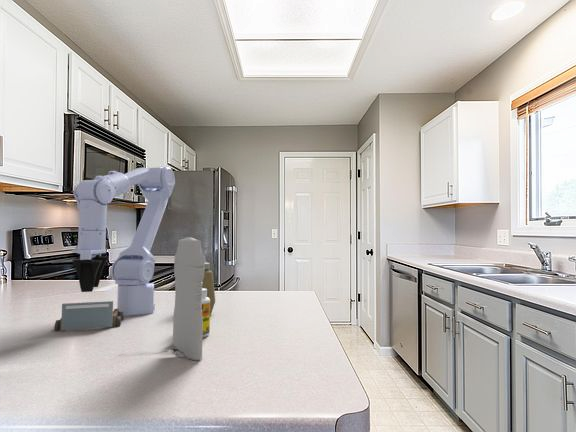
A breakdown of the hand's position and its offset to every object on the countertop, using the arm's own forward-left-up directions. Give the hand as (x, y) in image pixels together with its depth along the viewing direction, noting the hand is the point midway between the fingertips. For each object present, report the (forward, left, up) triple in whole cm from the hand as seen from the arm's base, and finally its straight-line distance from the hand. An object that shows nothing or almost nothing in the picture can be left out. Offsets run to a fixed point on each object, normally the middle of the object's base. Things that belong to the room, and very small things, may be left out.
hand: (90, 289), depth 84 cm
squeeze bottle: (-26, -10, -10) cm, 30 cm away
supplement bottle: (-23, +11, -10) cm, 28 cm away
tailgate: (0, +3, -8) cm, 9 cm away
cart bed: (0, -1, -10) cm, 10 cm away
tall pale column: (-20, +23, -10) cm, 32 cm away
